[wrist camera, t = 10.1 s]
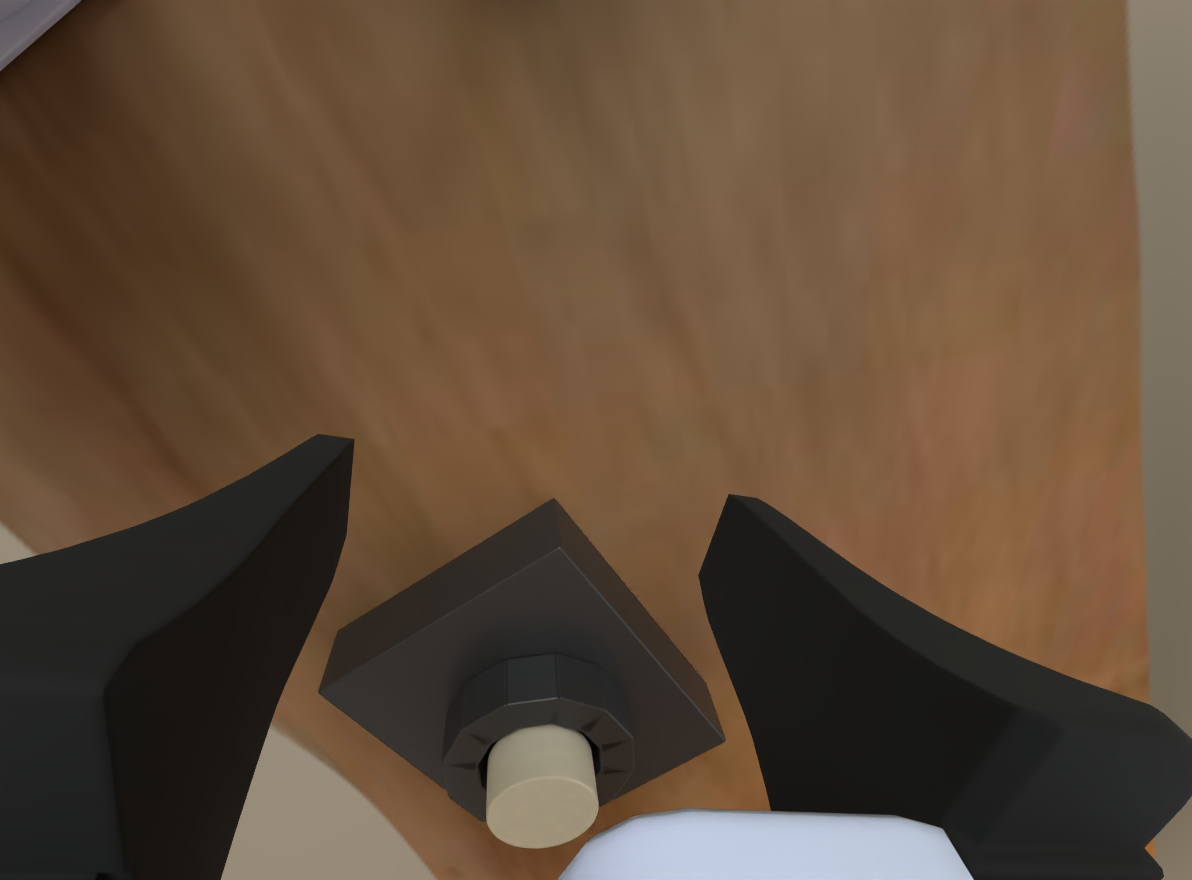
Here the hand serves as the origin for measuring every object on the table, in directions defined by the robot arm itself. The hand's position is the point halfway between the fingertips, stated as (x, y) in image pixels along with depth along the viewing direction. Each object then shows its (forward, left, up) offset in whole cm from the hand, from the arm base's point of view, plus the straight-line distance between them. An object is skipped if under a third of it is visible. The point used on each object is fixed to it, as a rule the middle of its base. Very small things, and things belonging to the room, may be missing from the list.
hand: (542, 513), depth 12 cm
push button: (+11, -7, -5) cm, 14 cm away
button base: (+11, -7, -9) cm, 16 cm away
